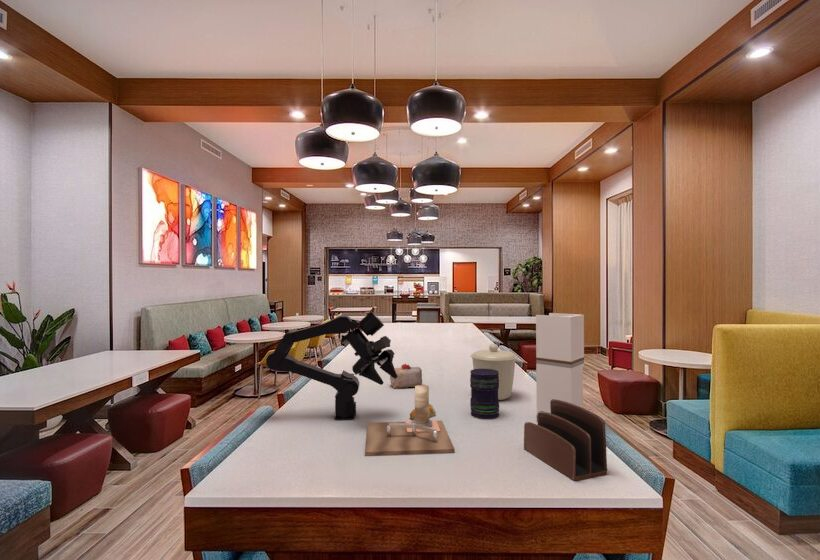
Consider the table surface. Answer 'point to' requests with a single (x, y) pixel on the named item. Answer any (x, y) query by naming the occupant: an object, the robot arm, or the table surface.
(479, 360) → the canister
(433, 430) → the bent metal bar
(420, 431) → the pad
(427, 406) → the peg
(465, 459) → the table surface
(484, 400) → the storage jar
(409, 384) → the food item
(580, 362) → the grooved white pillar
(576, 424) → the letter holder
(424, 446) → the board
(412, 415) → the pastry
